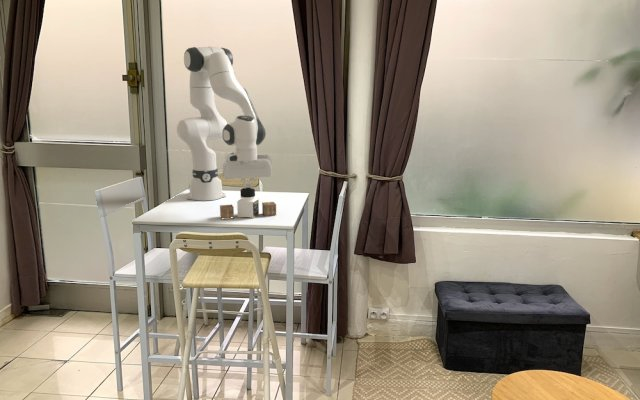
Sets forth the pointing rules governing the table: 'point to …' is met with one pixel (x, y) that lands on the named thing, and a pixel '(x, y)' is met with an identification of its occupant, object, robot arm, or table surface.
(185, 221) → the table surface
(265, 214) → the walnut block two bars
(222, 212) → the walnut block one bar
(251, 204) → the medicine bottle
